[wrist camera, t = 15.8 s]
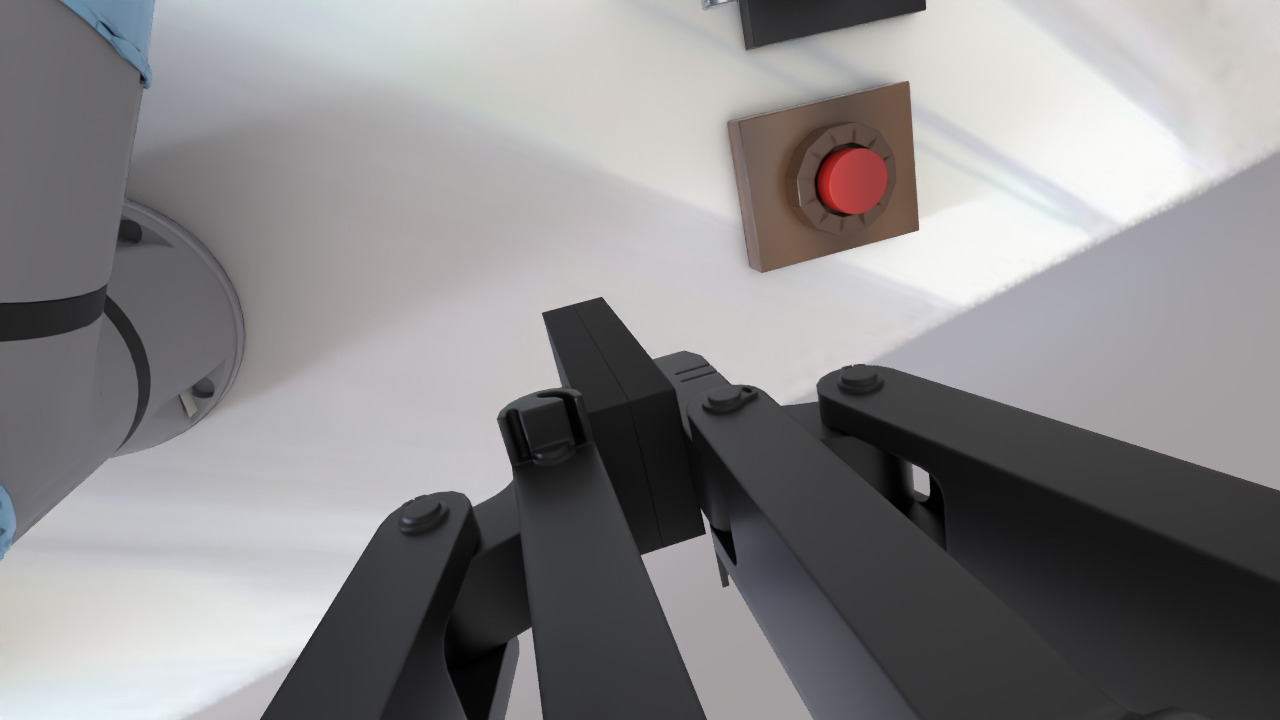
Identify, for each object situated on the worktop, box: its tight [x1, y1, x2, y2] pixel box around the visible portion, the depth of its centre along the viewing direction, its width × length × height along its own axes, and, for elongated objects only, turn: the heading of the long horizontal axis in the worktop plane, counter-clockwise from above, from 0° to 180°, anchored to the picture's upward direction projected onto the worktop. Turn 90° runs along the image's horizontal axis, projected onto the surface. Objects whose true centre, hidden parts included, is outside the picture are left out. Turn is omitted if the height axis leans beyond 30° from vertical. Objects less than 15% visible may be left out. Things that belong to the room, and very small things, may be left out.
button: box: [817, 148, 887, 214], centre depth 44 cm, size 4×4×2 cm
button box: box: [728, 81, 919, 273], centre depth 46 cm, size 12×10×4 cm
